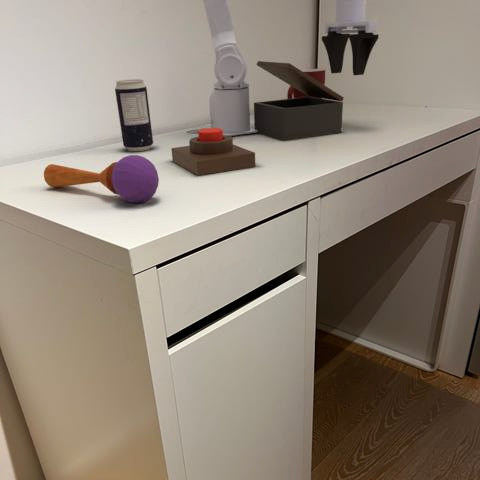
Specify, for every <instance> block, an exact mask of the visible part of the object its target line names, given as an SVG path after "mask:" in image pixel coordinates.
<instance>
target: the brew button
mask: <svg viewBox="0 0 480 480" xmlns="http://www.w3.org/2000/svg"><path fill="white" fill-rule="evenodd" d="M197 134H198V135H197V137H198V138H199V141H202V142H213V141H221V140H223V130H222V129H220V128H211V127H208V128H201V129H198V130H197Z"/></svg>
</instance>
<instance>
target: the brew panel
mask: <svg viewBox="0 0 480 480" xmlns="http://www.w3.org/2000/svg"><path fill="white" fill-rule="evenodd" d="M233 140H234V139H233V136H226V135H223V140H221V141H213V142H202V141H199V138H198V136H196V137H191V138H190V139H189V142H188V143H189V145H184V146H176V147H171V148H170V150H171V158H172V159H171V160H172V162H173V163H175V164H177V165H178V166H180V167H182V168H184V169H185V170H187V171H189V172H191V173H193V174H194V175H195V176H206V175H211V174H216V173H217V174H219V173H225V172H230V171H236V170H242V169H243V170H244V169H249V168H255V167H256V152H254V151H252V150H249V149H246V148H244V147H241V146H239V145H236V144H234V142H233Z"/></svg>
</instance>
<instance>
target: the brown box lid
mask: <svg viewBox="0 0 480 480" xmlns="http://www.w3.org/2000/svg"><path fill="white" fill-rule="evenodd" d="M256 66H258V67H259V68H261V69H262V70H264V71H266V72H267V73H269V74H271V75H272V76H274V77H276V78H278V79H279V80H281V81H282V82H284V83H286V84H288V85H289V86H292V87H294V88H296V89H297V90H299V91H301V92H302V93H304V94H306V95H307V96H311V97H317V98H322V99H327V100H333V101H339V102H343V101H344V99H345V97H344V96H342V95H341V94H339V93H337V92H336V91H334V90H333V89H331V88H329V87H328V86H327V85H323V84H322V83H320V82H318V81H317V80H315V79H314V78H312V77H310V76H309V75H307V74H306V73H304V72H302V71H301V69H299V68H298V67H296V66H295V65H293V64H291V63H290V62H275V61H263V60H262V61H261V60H258V61H257V62H256Z"/></svg>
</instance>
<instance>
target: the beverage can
mask: <svg viewBox="0 0 480 480" xmlns="http://www.w3.org/2000/svg"><path fill="white" fill-rule="evenodd" d="M115 83H116V84H115V88H114V92H115V98H116V105H117V111H118V112H117V113H118V118H119V126H120V131H121V132H120V133H121V138H122V145H123V147H124V148H126V149H127V151H129V152H143V151H148V150H150V149H151V147H152V146H153V144H154V138H153V129H152V122H151V114H150V104H149V97H148V96H149V95H148V90H147V85H146V84H145V83H144V79H140V78H136V79H121V80H116V81H115Z"/></svg>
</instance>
